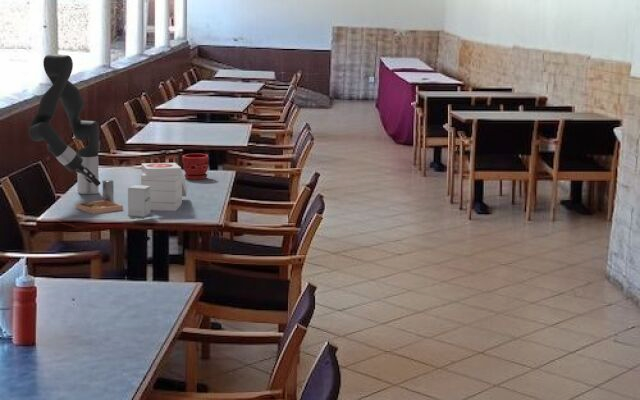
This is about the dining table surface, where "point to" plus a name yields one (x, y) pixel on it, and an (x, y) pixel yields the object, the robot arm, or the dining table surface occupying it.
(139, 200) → the supplement box
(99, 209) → the tray
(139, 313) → the dining table surface
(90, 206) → the walnut block
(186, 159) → the plant pot
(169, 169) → the pizza boxes
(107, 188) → the disc
